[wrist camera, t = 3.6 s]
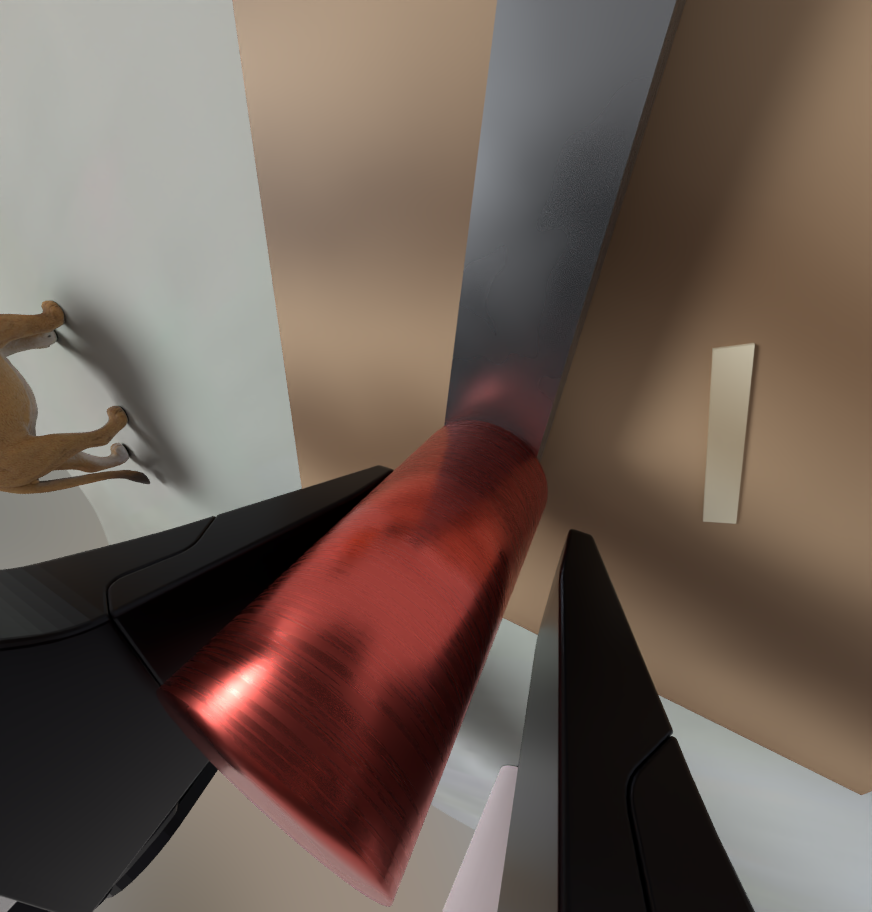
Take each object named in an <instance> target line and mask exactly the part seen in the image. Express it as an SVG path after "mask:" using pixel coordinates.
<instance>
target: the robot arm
mask: <svg viewBox="0 0 872 912" xmlns="http://www.w3.org/2000/svg"><path fill="white" fill-rule="evenodd" d="M393 471H394V470H393V469H391V468H388V467H385V466H381V465H377V466H374V467H371V468H367V469H364V470H361V471H358V472H354V473H351V474H348V475H345V476H342V477H338V478H335V479H332V480H329V481H325V482H322V483H319V484H316V485H313V486H309V487H306V488H303V489H300V490H296V491H293V492H290V493H287V494H284V495H280V496H277V497H274V498H271V499H267V500H264V501H261V502H258V503H254V504H251V505H248V506H245V507H242V508H238V509H235V510H232V511H229V512H225V513H222V514H219V515H217V517H215V516H212V517H209V518H206V519H203V520H200V521H196V522H193V523H190V524H186V525H183V526H180V527H176V528H173V529H169V530H166V531H163V532H159V533H155V534H151V535H148V536H144V537H140V538H136V539H132V540H129V541H125V542H121V543H117V544H113V545H109V546H105V547H101V548H97V549H93V550H89V551H85V552H81V553H77V554H73V555H69V556H65V557H62V558H58V559H53V560H50V561H45V562H41V563H37V564H33V565H29V566H24V567H18V568H13V569H5V570H0V912H93V910H94V909H96V908H97V907H98V906H99V905H100V904H101V903H102V902H103V901H104V900H105V899H106V898H109V897H113V896H114V895H116V894H117V893H119V892H120V891H122V890H123V889H124V888H125V887H126V886H128V885H129V884H130V883H131V882H132V881H133V880H134V879H135V878H136V877H137V876H138V875H139V874H140V873H141V872H142V871H143V870H144V869H145V868H146V867H147V866H148V865H149V864H150V863H151V861H152V860H153V859H154V858H155V857H156V856H157V855H158V853H159V852H160V851H161V850H162V848H163V847H164V846H165V845H166V843H167V842H168V841H169V840H170V838H171V837H172V835H173V834H174V833H175V831H176V830H177V829H178V827H179V826H180V825H181V823H182V822H183V820H184V819H185V817H186V816H187V814H188V813H189V811H190V810H191V808H192V807H193V806H194V804H195V803H196V801H197V800H198V798H199V797H200V795H201V794H202V792H203V791H204V789H205V788H206V786H207V785H208V783H209V782H210V781H211V779H212V778H213V776H214V775H215V773H216V772H217V770H218V769H217V768H216V767H215V766H214V765H213V764H212V763H211V762H210V761H209V760H208V759H207V758H206V757H205V756H204V754H203V753H202V752H201V751H200V750H199V749H198V748H197V747H196V746H195V745H194V744H193V743H192V742H191V740H190V739H189V738H188V737H187V736H186V735H185V734H184V733H183V731H182V730H181V729H180V728H179V727H178V726H177V724H176V723H175V722H174V721H173V720H172V718H171V717H170V716H169V714H168V713H167V712H166V710H165V709H164V708H163V706H162V705H161V703H160V701H159V700H158V698H157V695H156V690H157V689H158V688H159V687H160V686H161V685H163V684H164V683H165V682H166V681H167V680H168V679H169V678H170V677H171V676H172V675H173V674H174V673H176V672H177V671H178V670H179V669H180V668H181V667H182V666H183V665H184V664H185V663H186V662H187V661H188V660H190V659H191V658H192V657H193V656H194V655H195V654H196V653H197V652H198V651H199V650H200V649H201V648H203V647H204V646H205V645H206V644H207V643H208V642H209V641H210V640H211V639H212V638H213V637H214V636H216V635H217V634H218V633H219V632H220V631H221V630H222V629H223V628H224V627H225V626H226V625H227V624H229V623H230V622H231V621H232V620H233V619H234V618H235V617H236V616H237V615H238V614H239V613H240V612H242V611H243V610H244V609H245V608H246V607H247V606H248V605H249V604H250V603H251V602H252V601H253V600H254V599H256V598H257V597H258V596H259V595H260V594H261V593H262V592H263V591H264V590H265V589H266V588H267V587H269V586H270V585H271V584H272V583H273V582H274V581H275V580H276V579H277V578H278V577H279V576H280V575H282V574H283V573H284V572H285V571H286V570H287V569H288V568H289V567H290V566H291V565H292V564H293V563H295V562H296V561H297V560H298V559H299V558H300V557H301V556H302V555H303V554H304V553H305V552H306V551H308V550H309V549H310V548H311V547H312V546H313V545H314V544H315V543H316V542H317V541H318V540H319V539H320V538H322V537H323V536H324V535H325V534H326V533H327V532H328V531H329V530H330V529H331V528H332V527H333V526H335V525H336V524H337V523H338V522H339V521H340V520H341V519H342V518H343V517H344V516H345V515H346V514H348V513H349V512H350V511H351V510H352V509H353V508H354V507H355V506H356V505H357V504H358V503H359V502H361V501H362V500H363V499H364V498H365V497H366V496H367V495H368V494H369V493H370V492H371V491H372V490H374V489H375V488H376V487H377V486H378V485H379V484H380V483H381V482H382V481H383V480H384V479H385V478H386V477H388V476H389V475H390V474H391V473H392V472H393ZM672 733H673V730H672V727H671V725H670V722H669V720H668V717H667V715H666V713H665V710H664V708H663V705H662V703H661V700H660V698H659V696H658V693H657V691H656V688H655V686H654V683H653V681H652V679H651V676H650V674H649V671H648V669H647V666H646V664H645V662H644V659H643V657H642V654H641V652H640V650H639V647H638V645H637V642H636V640H635V637H634V635H633V633H632V630H631V628H630V625H629V623H628V620H627V618H626V616H625V613H624V611H623V608H622V606H621V603H620V601H619V599H618V596H617V594H616V591H615V589H614V586H613V584H612V582H611V579H610V577H609V574H608V572H607V569H606V567H605V565H604V562H603V560H602V557H601V555H600V552H599V550H598V548H597V545H596V543H595V540H594V538H593V537H592V535H590V534H587V533H584V532H581V531H578V530H575V529H570V530H569V531H568V534H567V537H566V540H565V543H564V546H563V549H562V552H561V555H560V558H559V562H558V565H557V568H556V572H555V575H554V579H553V583H552V586H551V590H550V593H549V597H548V600H547V604H546V607H545V611H544V615H543V618H542V622H541V625H540V629H539V633H538V637H537V642H536V648H535V654H534V661H533V668H532V675H531V682H530V689H529V696H528V702H527V709H526V716H525V723H524V730H523V737H522V744H521V751H520V758H519V765H518V772H517V779H516V786H515V792H514V799H513V806H512V813H511V820H510V827H509V834H508V841H507V848H506V855H505V862H504V869H503V876H502V882H501V889H500V896H499V903H498V910H497V912H755V911H754V909H753V907H752V905H751V903H750V901H749V899H748V897H747V895H746V892H745V890H744V888H743V886H742V884H741V882H740V880H739V878H738V876H737V874H736V872H735V870H734V868H733V866H732V864H731V862H730V860H729V857H728V855H727V853H726V851H725V849H724V847H723V845H722V843H721V841H720V839H719V837H718V835H717V832H716V830H715V828H714V826H713V823H712V821H711V819H710V816H709V814H708V812H707V810H706V807H705V805H704V803H703V800H702V798H701V796H700V794H699V791H698V789H697V787H696V785H695V782H694V780H693V778H692V775H691V773H690V770H689V768H688V766H687V763H686V761H685V758H684V756H683V753H682V751H681V748H680V746H679V743H678V741H677V739H676V738H675V737H673V736H671V735H672Z"/></svg>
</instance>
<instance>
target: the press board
mask: <svg viewBox="0 0 872 912" xmlns="http://www.w3.org/2000/svg"><path fill="white" fill-rule="evenodd" d="M232 1H233V8H234V15H235V22H236V29H237V36H238V43H239V50H240V57H241V64H242V71H243V78H244V85H245V92H246V99H247V106H248V113H249V120H250V127H251V134H252V141H253V148H254V155H255V162H256V169H257V176H258V183H259V190H260V197H261V204H262V211H263V218H264V225H265V232H266V239H267V246H268V253H269V260H270V267H271V274H272V281H273V288H274V296H275V303H276V310H277V317H278V324H279V331H280V338H281V345H282V352H283V359H284V366H285V373H286V380H287V387H288V394H289V401H290V408H291V415H292V422H293V429H294V436H295V443H296V450H297V457H298V464H299V471H300V478H301V485H302V489H303V488H306V487H309V486H313V485H316V484H319V483H322V482H325V481H329V480H332V479H335V478H338V477H342V476H345V475H348V474H351V473H354V472H358V471H361V470H364V469H367V468H371V467H374V466H377V465H381V466H385V467H388V468H391V469H393V470H395V469H396V468H397V467H398V466H399V465H401V464H402V463H403V462H404V461H405V460H406V459H407V458H408V457H409V456H410V455H411V454H412V453H414V452H415V451H416V450H417V449H418V448H419V447H420V446H421V445H422V444H423V443H424V442H425V441H427V440H428V439H429V438H430V437H431V436H432V435H433V434H434V433H435V432H436V431H438V430H439V429H440V428H442V427H444V423H445V415H446V407H447V399H448V391H449V383H450V375H451V367H452V359H453V350H454V342H455V334H456V326H457V318H458V310H459V302H460V294H461V286H462V278H463V270H464V262H465V254H466V246H467V238H468V230H469V222H470V214H471V206H472V198H473V190H474V182H475V174H476V166H477V158H478V150H479V142H480V134H481V126H482V118H483V110H484V102H485V94H486V86H487V78H488V70H489V62H490V54H491V46H492V38H493V30H494V22H495V14H496V5H497V0H232ZM540 464H541V466H542V467H543V470H544V473H545V475H546V480H547V485H548V498H547V503H546V507H545V509H544V512H543V514H542V517H541V520H540V522H539V525H538V527H537V530H536V533H535V535H534V538H533V540H532V543H531V545H530V548H529V551H528V553H527V556H526V558H525V561H524V564H523V566H522V569H521V571H520V574H519V577H518V579H517V582H516V584H515V587H514V590H513V592H512V595H511V597H510V600H509V603H508V605H507V608H506V610H505V613H504V615H503V618H505V619H507V620H509V621H511V622H513V623H515V624H517V625H519V626H521V627H523V628H525V629H527V630H529V631H531V632H533V633H535V634H537V635H538V633H539V629H540V625H541V622H542V618H543V615H544V611H545V607H546V604H547V600H548V597H549V593H550V590H551V586H552V583H553V579H554V575H555V572H556V568H557V565H558V562H559V558H560V555H561V552H562V549H563V546H564V543H565V540H566V537H567V534H568V531H569V530H570V529H575V530H578V531H581V532H584V533H587V534H590V535H592V537H593V538H594V540H595V543H596V545H597V548H598V550H599V552H600V555H601V557H602V560H603V562H604V565H605V567H606V569H607V572H608V574H609V577H610V579H611V582H612V584H613V586H614V589H615V591H616V594H617V596H618V599H619V601H620V603H621V606H622V608H623V611H624V613H625V616H626V618H627V620H628V623H629V625H630V628H631V630H632V633H633V635H634V637H635V640H636V642H637V645H638V647H639V650H640V652H641V654H642V657H643V659H644V662H645V664H646V666H647V669H648V671H649V674H650V676H651V679H652V681H653V683H654V686H655V688H656V691H657V693H658V695H660V696H662V697H664V698H666V699H668V700H670V701H672V702H674V703H676V704H678V705H680V706H682V707H684V708H686V709H688V710H690V711H692V712H695V713H697V714H699V715H701V716H703V717H705V718H707V719H709V720H711V721H713V722H715V723H717V724H719V725H721V726H723V727H725V728H727V729H729V730H731V731H733V732H735V733H737V734H739V735H741V736H743V737H745V738H747V739H749V740H751V741H753V742H755V743H757V744H759V745H761V746H763V747H765V748H767V749H769V750H771V751H773V752H775V753H777V754H779V755H781V756H783V757H785V758H787V759H789V760H791V761H793V762H795V763H797V764H799V765H801V766H803V767H806V768H808V769H810V770H812V771H814V772H816V773H818V774H820V775H822V776H824V777H826V778H828V779H830V780H832V781H834V782H836V783H838V784H840V785H842V786H844V787H846V788H848V789H850V790H852V791H854V792H856V793H858V794H860V795H863V794H866V793H868V792H871V791H872V0H686V3H685V6H684V9H683V12H682V15H681V18H680V22H679V25H678V28H677V31H676V34H675V37H674V41H673V44H672V47H671V50H670V53H669V56H668V60H667V63H666V66H665V69H664V72H663V75H662V79H661V82H660V85H659V88H658V91H657V94H656V98H655V101H654V104H653V107H652V110H651V113H650V117H649V120H648V123H647V126H646V129H645V133H644V136H643V139H642V142H641V145H640V148H639V152H638V155H637V158H636V161H635V164H634V167H633V171H632V174H631V177H630V180H629V183H628V186H627V190H626V193H625V196H624V199H623V202H622V205H621V209H620V212H619V215H618V218H617V221H616V224H615V228H614V231H613V234H612V237H611V240H610V243H609V247H608V250H607V253H606V256H605V259H604V262H603V266H602V269H601V272H600V275H599V278H598V281H597V285H596V288H595V291H594V294H593V297H592V300H591V304H590V307H589V310H588V313H587V316H586V319H585V323H584V326H583V329H582V332H581V335H580V338H579V342H578V345H577V348H576V351H575V354H574V357H573V361H572V364H571V367H570V370H569V373H568V376H567V380H566V383H565V386H564V389H563V392H562V395H561V399H560V402H559V405H558V408H557V411H556V414H555V418H554V421H553V424H552V427H551V430H550V434H549V437H548V440H547V443H546V446H545V449H544V453H543V456H542V459H541V462H540Z"/></svg>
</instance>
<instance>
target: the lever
mask: <svg viewBox="0 0 872 912" xmlns="http://www.w3.org/2000/svg"><path fill="white" fill-rule="evenodd" d="M685 3H686V0H497V5H496V14H495V22H494V30H493V38H492V46H491V54H490V62H489V70H488V78H487V86H486V94H485V102H484V110H483V118H482V126H481V134H480V142H479V150H478V158H477V166H476V174H475V182H474V190H473V198H472V206H471V214H470V222H469V230H468V238H467V246H466V254H465V262H464V270H463V278H462V286H461V294H460V302H459V310H458V318H457V326H456V334H455V342H454V350H453V359H452V367H451V375H450V383H449V391H448V399H447V407H446V415H445V423H444V427H442V428H440V429H439V430H438V431H436V432H435V433H434V434H433V435H432V436H431V437H430V438H429V439H428V440H427V441H425V442H424V443H423V444H422V445H421V446H420V447H419V448H418V449H417V450H416V451H415V452H414V453H412V454H411V455H410V456H409V457H408V458H407V459H406V460H405V461H404V462H403V463H402V464H401V465H399V466H398V467H397V468H396V469H395V470H394V471H393V472H392V473H391V474H390V475H389V476H388V477H386V478H385V479H384V480H383V481H382V482H381V483H380V484H379V485H378V486H377V487H376V488H375V489H374V490H372V491H371V492H370V493H369V494H368V495H367V496H366V497H365V498H364V499H363V500H362V501H361V502H359V503H358V504H357V505H356V506H355V507H354V508H353V509H352V510H351V511H350V512H349V513H348V514H346V515H345V516H344V517H343V518H342V519H341V520H340V521H339V522H338V523H337V524H336V525H335V526H333V527H332V528H331V529H330V530H329V531H328V532H327V533H326V534H325V535H324V536H323V537H322V538H320V539H319V540H318V541H317V542H316V543H315V544H314V545H313V546H312V547H311V548H310V549H309V550H308V551H306V552H305V553H304V554H303V555H302V556H301V557H300V558H299V559H298V560H297V561H296V562H295V563H293V564H292V565H291V566H290V567H289V568H288V569H287V570H286V571H285V572H284V573H283V574H282V575H280V576H279V577H278V578H277V579H276V580H275V581H274V582H273V583H272V584H271V585H270V586H269V587H267V588H266V589H265V590H264V591H263V592H262V593H261V594H260V595H259V596H258V597H257V598H256V599H254V600H253V601H252V602H251V603H250V604H249V605H248V606H247V607H246V608H245V609H244V610H243V611H242V612H240V613H239V614H238V615H237V616H236V617H235V618H234V619H233V620H232V621H231V622H230V623H229V624H227V625H226V626H225V627H224V628H223V629H222V630H221V631H220V632H219V633H218V634H217V635H216V636H214V637H213V638H212V639H211V640H210V641H209V642H208V643H207V644H206V645H205V646H204V647H203V648H201V649H200V650H199V651H198V652H197V653H196V654H195V655H194V656H193V657H192V658H191V659H190V660H188V661H187V662H186V663H185V664H184V665H183V666H182V667H181V668H180V669H179V670H178V671H177V672H176V673H174V674H173V675H172V676H171V677H170V678H169V679H168V680H167V681H166V682H165V683H164V684H163V685H161V686H160V687H159V688H158V689H157V690H156V695H157V698H158V700H159V701H160V703H161V705H162V706H163V708H164V709H165V710H166V712H167V713H168V714H169V716H170V717H171V718H172V720H173V721H174V722H175V723H176V724H177V726H178V727H179V728H180V729H181V730H182V731H183V733H184V734H185V735H186V736H187V737H188V738H189V739H190V740H191V742H192V743H193V744H194V745H195V746H196V747H197V748H198V749H199V750H200V751H201V752H202V753H203V754H204V756H205V757H206V758H207V759H208V760H209V761H210V762H211V763H212V764H213V765H214V766H215V767H216V768H217V769H218V770H219V771H220V772H221V773H222V774H223V775H224V776H225V777H226V778H227V779H228V780H229V781H230V782H231V783H232V784H234V786H235V787H236V788H238V789H239V791H241V792H242V793H243V794H244V795H245V796H246V797H247V798H248V799H249V800H250V801H251V802H252V803H253V804H254V805H255V806H256V807H257V808H259V809H260V810H261V811H262V812H263V813H264V814H265V815H266V816H267V817H268V818H269V819H271V820H272V821H273V822H274V823H275V824H276V825H277V826H279V827H280V828H281V829H282V830H283V831H284V832H285V833H286V834H287V835H289V836H290V837H291V838H292V839H293V840H294V841H296V842H297V843H298V844H299V845H300V846H302V847H303V848H304V849H305V850H306V851H307V852H309V853H310V854H311V855H312V856H314V857H315V858H316V859H317V860H318V861H320V862H321V863H322V864H323V865H325V866H326V867H327V868H328V869H330V870H331V871H332V872H333V873H335V874H336V875H337V876H339V877H340V878H341V879H343V880H344V881H345V882H347V883H348V884H349V885H351V886H352V887H353V888H355V889H356V890H358V891H359V892H361V893H362V894H364V895H365V896H367V897H369V898H370V899H372V900H374V901H375V902H377V903H379V904H381V905H384V906H388V907H390V906H391V905H392V903H393V901H394V898H395V895H396V893H397V890H398V888H399V885H400V882H401V880H402V877H403V875H404V872H405V869H406V867H407V864H408V861H409V859H410V857H411V854H412V851H413V849H414V846H415V844H416V841H417V838H418V836H419V833H420V831H421V828H422V825H423V823H424V820H425V817H426V815H427V812H428V810H429V807H430V805H431V802H432V800H433V797H434V794H435V792H436V789H437V787H438V784H439V781H440V779H441V776H442V774H443V771H444V768H445V766H446V763H447V761H448V758H449V755H450V753H451V750H452V748H453V745H454V742H455V740H456V737H457V735H458V732H459V730H460V727H461V724H462V722H463V719H464V717H465V714H466V711H467V709H468V706H469V704H470V701H471V698H472V696H473V693H474V691H475V688H476V685H477V683H478V680H479V678H480V675H481V673H482V670H483V667H484V665H485V662H486V660H487V657H488V654H489V652H490V649H491V647H492V644H493V641H494V639H495V636H496V634H497V631H498V628H499V626H500V623H501V621H502V618H503V615H504V613H505V610H506V608H507V605H508V603H509V600H510V597H511V595H512V592H513V590H514V587H515V584H516V582H517V579H518V577H519V574H520V571H521V569H522V566H523V564H524V561H525V558H526V556H527V553H528V551H529V548H530V545H531V543H532V540H533V538H534V535H535V533H536V530H537V527H538V525H539V522H540V520H541V517H542V514H543V512H544V509H545V507H546V503H547V498H548V485H547V480H546V475H545V473H544V470H543V467H542V466H541V464H540V462H541V459H542V456H543V453H544V449H545V446H546V443H547V440H548V437H549V434H550V430H551V427H552V424H553V421H554V418H555V414H556V411H557V408H558V405H559V402H560V399H561V395H562V392H563V389H564V386H565V383H566V380H567V376H568V373H569V370H570V367H571V364H572V361H573V357H574V354H575V351H576V348H577V345H578V342H579V338H580V335H581V332H582V329H583V326H584V323H585V319H586V316H587V313H588V310H589V307H590V304H591V300H592V297H593V294H594V291H595V288H596V285H597V281H598V278H599V275H600V272H601V269H602V266H603V262H604V259H605V256H606V253H607V250H608V247H609V243H610V240H611V237H612V234H613V231H614V228H615V224H616V221H617V218H618V215H619V212H620V209H621V205H622V202H623V199H624V196H625V193H626V190H627V186H628V183H629V180H630V177H631V174H632V171H633V167H634V164H635V161H636V158H637V155H638V152H639V148H640V145H641V142H642V139H643V136H644V133H645V129H646V126H647V123H648V120H649V117H650V113H651V110H652V107H653V104H654V101H655V98H656V94H657V91H658V88H659V85H660V82H661V79H662V75H663V72H664V69H665V66H666V63H667V60H668V56H669V53H670V50H671V47H672V44H673V41H674V37H675V34H676V31H677V28H678V25H679V22H680V18H681V15H682V12H683V9H684V6H685Z"/></svg>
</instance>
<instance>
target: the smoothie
mask: <svg viewBox="0 0 872 912" xmlns="http://www.w3.org/2000/svg"><path fill="white" fill-rule="evenodd" d="M517 772H518V767H515V766H509V765H506V766H503V767H501V769H500V771H499V774H498V776H497V779H496V781H495V783H494V786H493V788H492V791H491V793H490V796H489V798H488V801H487V803H486V805H485V808H484V810H483V813H482V815H481V818H480V820H479V823H478V825H477V827H476V830H475V833H474V835H473V837H472V840H471V842H470V845H469V847H468V850H467V852H466V854H465V857H464V859H463V862H462V864H461V867H460V869H459V872H458V874H457V876H456V879H455V882H454V884H453V886H452V889H451V891H450V894H449V896H448V899H447V901H446V904H445V906H444V908H443V911H442V912H497V910H498V903H499V896H500V889H501V882H502V876H503V869H504V862H505V855H506V848H507V841H508V834H509V827H510V820H511V813H512V806H513V799H514V792H515V786H516V779H517Z"/></svg>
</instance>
